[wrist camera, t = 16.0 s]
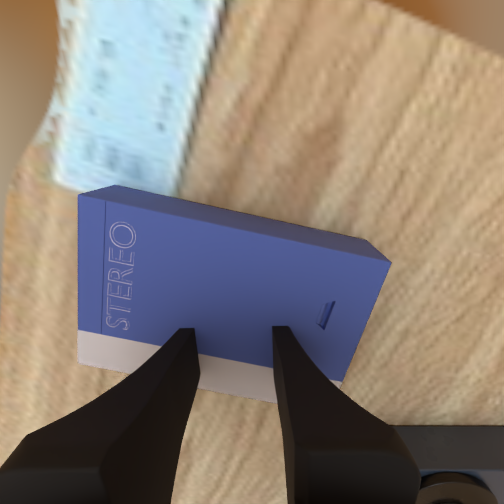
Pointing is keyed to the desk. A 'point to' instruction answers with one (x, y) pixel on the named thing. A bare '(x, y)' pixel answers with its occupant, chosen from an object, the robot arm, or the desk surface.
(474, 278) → the desk surface
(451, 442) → the hot plate
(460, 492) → the burner
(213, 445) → the desk surface
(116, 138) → the desk surface
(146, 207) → the walkman
